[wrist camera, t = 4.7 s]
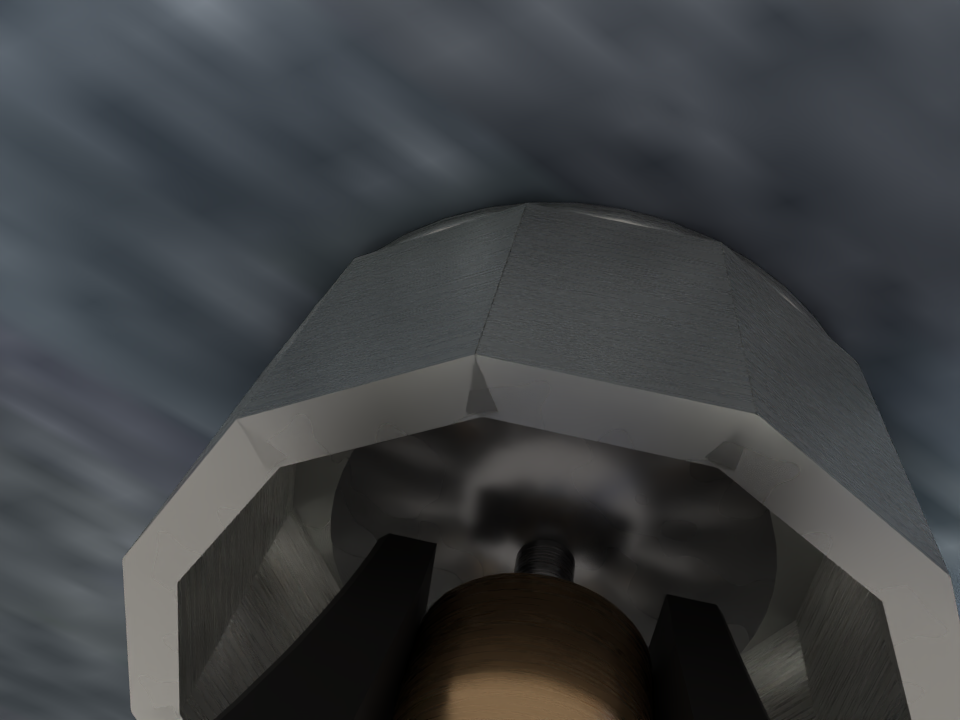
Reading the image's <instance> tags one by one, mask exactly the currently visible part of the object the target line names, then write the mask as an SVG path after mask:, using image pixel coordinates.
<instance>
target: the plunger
mask: <svg viewBox="0 0 960 720" xmlns="http://www.w3.org/2000/svg"><path fill="white" fill-rule="evenodd" d="M388 533H391V534H396V535H400V536H405V537H409V538H414V539H418V540H423V541H428V542H432V543H437V546H436V553H435V559H434V566H433V572H432V578H431V585H430V591H429V598H428V604H427V610H426V614H425V615H424V617H423V619H422V621H421V623H420V626H419V629H418V632H417V635H416V639H415V642H414V646H413V649H412V652H411V655H410V659H409V662H408V665H407V669H406V672H405V676H404V679H403V682H402V686H401V689H400V693H399V696H398V699H397V703H396V706H395V710H394V713H393V716H392V720H653V706H652V665H651V657H650V654H649V651H648V648H649V645H650V642H651V639H652V636H653V633H654V630H655V627H656V624H657V620H658V617H659V614H660V611H661V608H662V605H663V602H664V599H665V596H666V594H670V595H674V596H679V597H684V598H688V599H693V600H697V601H702V602H706V603H711V604H716V605H717V606H718V607H719V609H720V610H721V612H722V613H723V615H724V618H725V620H726V623H727V625H728V627H729V630H730V632H731V634H732V637H733V639H734V641H735V644H736V646H737V648H738V651H739V653H741V652H742V651H743V650H744V649H745V647H746V646H747V645H748V643H749V642H750V641H751V639H752V638H753V637H754V635H755V634H756V632H757V630H758V628H759V627H760V625H761V623H762V621H763V619H764V617H765V615H766V613H767V610H768V607H769V604H770V601H771V598H772V595H773V592H774V586H775V579H776V572H777V548H776V540H775V534H774V529H773V524H772V519H771V514H770V510H769V509H768V508H767V507H766V506H764V505H763V504H762V503H761V502H759V501H758V500H757V499H756V498H754V497H753V496H752V495H751V494H750V493H748V492H747V491H746V490H745V489H743V488H742V487H741V486H740V485H738V484H737V483H736V482H735V481H734V480H732V479H731V478H730V477H729V476H727V475H726V474H725V473H724V472H723V471H721V470H720V469H719V468H717V467H713V466H708V465H704V464H699V463H694V462H690V461H685V460H681V459H676V458H671V457H667V456H662V455H657V454H653V453H648V452H644V451H639V450H634V449H630V448H625V447H620V446H616V445H611V444H607V443H602V442H597V441H593V440H588V439H584V438H579V437H574V436H570V435H565V434H560V433H556V432H551V431H547V430H542V429H537V428H533V427H528V426H523V425H519V424H514V423H510V422H505V421H500V420H496V419H491V418H487V417H479V418H475V419H471V420H467V421H463V422H459V423H455V424H451V425H447V426H443V427H439V428H435V429H431V430H427V431H423V432H419V433H415V434H411V435H407V436H403V437H399V438H395V439H391V440H387V441H383V442H379V443H375V444H371V445H367V446H363V447H359V448H355V449H353V451H352V453H351V455H350V457H349V459H348V461H347V463H346V465H345V467H344V469H343V471H342V474H341V477H340V480H339V482H338V485H337V488H336V491H335V495H334V500H333V506H332V512H331V542H332V548H333V555H334V560H335V563H336V567H337V570H338V573H339V576H340V579H341V582H342V584H343V586H344V585H345V584H346V583H347V582H348V580H349V579H350V578H351V577H352V575H353V574H354V573H355V571H356V570H357V569H358V568H359V566H360V565H361V564H362V562H363V561H364V560H365V558H366V557H367V555H368V554H369V553H370V551H371V550H372V548H373V547H374V545H375V544H376V542H377V541H378V539H379V538H381V537H383V536H384V535H386V534H388Z"/></svg>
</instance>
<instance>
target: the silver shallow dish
mask: <svg viewBox="0 0 960 720" xmlns="http://www.w3.org/2000/svg"><path fill="white" fill-rule="evenodd" d="M479 417H487V418H491V419H496V420H500V421H505V422H510V423H514V424H519V425H523V426H528V427H533V428H537V429H542V430H547V431H551V432H556V433H560V434H565V435H570V436H574V437H579V438H584V439H588V440H593V441H597V442H602V443H607V444H611V445H616V446H620V447H625V448H630V449H634V450H639V451H644V452H648V453H653V454H657V455H662V456H667V457H671V458H676V459H681V460H685V461H690V462H694V463H699V464H704V465H708V466H713V467H717V468H719V469H720V470H721V471H723V472H724V473H725V474H726V475H727V476H729V477H730V478H731V479H732V480H734V481H735V482H736V483H737V484H738V485H740V486H741V487H742V488H743V489H745V490H746V491H747V492H748V493H750V494H751V495H752V496H753V497H754V498H756V499H757V500H758V501H759V502H761V503H762V504H763V505H764V506H766V507H767V508H768V509H769V510H770V514H771V519H772V524H773V529H774V534H775V540H776V548H777V572H776V579H775V586H774V592H773V595H772V598H771V601H770V604H769V607H768V610H767V613H766V615H765V617H764V619H763V621H762V623H761V625H760V627H759V628H758V630H757V632H756V634H755V635H754V637H753V638H752V639H751V641H750V642H749V643H748V645H747V646H746V647H745V649H744V650H743V651H742V652H741V653H740V655H741V658H742V660H743V662H744V664H745V667H746V669H747V671H748V673H749V675H750V678H751V680H752V682H753V684H754V686H755V688H756V690H757V693H758V695H759V697H760V699H761V701H762V703H763V705H764V707H765V709H766V712H767V714H768V716H769V718H770V720H960V621H959V616H958V611H957V606H956V601H955V596H954V591H953V586H952V581H951V577H950V575H949V572H948V570H947V568H946V565H945V563H944V561H943V558H942V556H941V554H940V551H939V549H938V547H937V545H936V542H935V540H934V538H933V535H932V533H931V531H930V528H929V526H928V524H927V521H926V519H925V517H924V514H923V512H922V510H921V507H920V505H919V503H918V500H917V498H916V496H915V494H914V491H913V489H912V487H911V484H910V482H909V480H908V477H907V475H906V473H905V470H904V468H903V466H902V463H901V461H900V459H899V456H898V454H897V452H896V450H895V447H894V445H893V443H892V440H891V438H890V436H889V433H888V431H887V429H886V426H885V424H884V422H883V419H882V417H881V415H880V412H879V410H878V408H877V406H876V403H875V401H874V399H873V396H872V394H871V392H870V389H869V387H868V385H867V382H866V380H865V378H864V375H863V373H862V371H861V368H860V366H859V364H858V362H857V361H856V360H855V359H853V358H852V357H851V356H850V355H849V354H848V353H847V352H846V351H844V350H843V349H842V348H841V347H840V346H839V345H838V344H836V343H835V342H834V341H833V340H832V339H831V338H830V337H829V336H828V335H827V333H826V332H825V330H824V329H823V328H822V326H821V325H820V324H819V322H818V321H817V319H816V318H815V317H814V316H813V315H812V314H811V313H810V312H809V311H808V310H807V309H806V308H805V307H804V306H803V305H802V304H801V303H800V302H799V300H798V299H797V298H796V297H795V296H794V295H793V294H792V293H791V292H790V291H789V290H788V289H787V288H786V287H785V286H783V285H782V284H781V283H779V282H778V281H777V280H775V279H774V278H773V277H771V276H770V275H769V274H768V273H766V272H765V271H764V270H762V269H761V268H760V267H758V266H757V265H756V264H755V263H753V262H752V261H751V260H749V259H747V258H745V257H744V256H742V255H740V254H738V253H737V252H735V251H733V250H731V249H730V248H728V247H726V246H725V245H724V244H723V243H722V242H719V241H716V240H714V239H712V238H710V237H707V236H705V235H702V234H700V233H697V232H695V231H693V230H690V229H688V228H685V227H683V226H680V225H678V224H675V223H673V222H671V221H668V220H664V219H660V218H656V217H653V216H649V215H645V214H641V213H638V212H634V211H630V210H626V209H621V208H614V207H607V206H599V205H592V204H584V203H565V202H530V203H521V204H513V205H504V206H496V207H487V208H483V209H479V210H476V211H472V212H468V213H464V214H460V215H456V216H452V217H448V218H444V219H442V220H439V221H437V222H434V223H432V224H429V225H427V226H424V227H422V228H419V229H417V230H414V231H412V232H409V233H407V234H405V235H403V236H402V237H400V238H398V239H396V240H395V241H393V242H391V243H389V244H388V245H386V246H384V247H382V248H381V249H379V250H377V251H375V252H372V253H369V254H366V255H363V256H360V257H357V258H355V259H353V261H352V262H351V263H350V264H349V266H348V267H347V268H346V269H345V271H344V272H343V273H342V274H341V276H340V277H339V278H338V279H337V280H336V282H335V283H334V284H333V285H332V287H331V288H330V289H329V290H328V292H327V293H326V294H325V295H324V297H323V298H322V299H321V300H320V301H319V302H318V303H317V304H316V305H315V307H314V308H313V310H312V311H311V312H310V314H309V315H308V316H307V318H306V319H305V320H304V321H303V323H302V324H301V325H300V326H299V328H298V329H297V330H296V331H295V333H294V334H293V335H292V336H291V338H290V339H289V340H288V341H287V342H286V344H285V345H284V346H283V347H282V349H281V350H280V351H279V352H278V354H277V355H276V356H275V357H274V359H273V360H272V361H271V362H270V364H269V365H268V366H267V367H266V369H265V370H264V371H263V372H262V374H261V375H260V376H259V377H258V379H257V380H256V381H255V383H254V384H253V385H252V387H251V388H250V389H249V391H248V392H247V393H246V395H245V396H244V397H243V399H242V400H241V401H240V403H239V404H238V405H237V407H236V408H235V409H234V411H233V412H232V413H231V415H230V416H229V417H228V419H227V420H226V421H225V423H224V424H223V425H222V427H221V428H220V429H219V431H218V432H217V433H216V435H215V436H214V437H213V439H212V440H211V441H210V443H209V444H208V445H207V447H206V448H205V449H204V451H203V452H202V453H201V455H200V456H199V457H198V459H197V460H196V461H195V463H194V464H193V465H192V467H191V468H190V469H189V471H188V472H187V474H186V475H185V476H184V478H183V479H182V480H181V482H180V483H179V484H178V486H177V487H176V488H175V490H174V491H173V492H172V494H171V495H170V496H169V498H168V499H167V500H166V502H165V503H164V504H163V506H162V507H161V508H160V510H159V511H158V512H157V514H156V515H155V516H154V518H153V519H152V520H151V522H150V523H149V524H148V526H147V527H146V528H145V530H144V531H143V532H142V534H141V535H140V536H139V538H138V539H137V540H136V542H135V543H134V544H133V546H132V547H131V548H130V550H129V551H128V552H127V554H126V555H125V556H124V558H123V577H124V595H125V612H126V630H127V648H128V666H129V683H130V701H131V712H132V714H133V715H134V716H135V718H136V719H137V720H214V719H215V718H216V717H217V716H218V715H219V714H220V713H221V712H223V711H224V710H225V709H226V708H227V707H228V706H229V705H230V704H231V703H232V702H234V701H235V700H236V699H237V698H238V697H239V696H240V695H241V694H242V693H243V692H244V691H245V690H246V689H247V688H248V687H249V686H250V685H251V684H252V683H253V682H254V681H255V680H256V679H257V678H258V677H260V676H261V675H262V674H263V673H264V672H265V671H266V670H267V669H268V668H269V667H270V666H271V665H272V664H273V663H274V662H275V661H276V660H277V659H278V658H279V657H280V656H281V655H282V654H283V653H284V652H285V651H286V650H287V649H288V648H289V647H290V646H291V645H292V644H293V643H294V641H295V640H296V639H297V638H298V637H299V636H300V635H301V634H302V633H303V632H304V631H305V629H306V628H307V627H308V626H309V625H310V624H311V623H312V622H313V621H314V620H315V619H316V617H317V616H318V615H319V614H320V613H321V612H322V611H323V610H324V609H325V608H326V607H327V605H328V604H329V603H330V602H331V601H332V599H333V598H334V597H335V596H336V595H337V594H338V592H339V591H340V590H341V589H342V588H343V584H342V582H341V579H340V576H339V573H338V570H337V567H336V563H335V560H334V555H333V548H332V542H331V512H332V506H333V500H334V495H335V491H336V488H337V485H338V482H339V480H340V477H341V474H342V471H343V469H344V467H345V465H346V463H347V461H348V459H349V457H350V455H351V453H352V451H353V449H355V448H359V447H363V446H367V445H371V444H375V443H379V442H383V441H387V440H391V439H395V438H399V437H403V436H407V435H411V434H415V433H419V432H423V431H427V430H431V429H435V428H439V427H443V426H447V425H451V424H455V423H459V422H463V421H467V420H471V419H475V418H479Z"/></svg>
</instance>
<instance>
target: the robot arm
mask: <svg viewBox="0 0 960 720" xmlns="http://www.w3.org/2000/svg"><path fill="white" fill-rule="evenodd" d="M436 546H437V543H432V542H428V541H423V540H418V539H414V538H409V537H405V536H400V535H396V534H391V533H388V534H386V535H384V536H383V537H381V538H379V539H378V541H377V542H376V544H375V545H374V547H373V548H372V550H371V551H370V553H369V554H368V555H367V557H366V558H365V560H364V561H363V562H362V564H361V565H360V566H359V568H358V569H357V570H356V571H355V573H354V574H353V575H352V577H351V578H350V579H349V580H348V582H347V583H346V584H345V585H344V586H343V588H342V589H341V590H340V591H339V592H338V594H337V595H336V596H335V597H334V598H333V599H332V601H331V602H330V603H329V604H328V605H327V607H326V608H325V609H324V610H323V611H322V612H321V613H320V614H319V615H318V616H317V617H316V619H315V620H314V621H313V622H312V623H311V624H310V625H309V626H308V627H307V628H306V629H305V631H304V632H303V633H302V634H301V635H300V636H299V637H298V638H297V639H296V640H295V641H294V643H293V644H292V645H291V646H290V647H289V648H288V649H287V650H286V651H285V652H284V653H283V654H282V655H281V656H280V657H279V658H278V659H277V660H276V661H275V662H274V663H273V664H272V665H271V666H270V667H269V668H268V669H267V670H266V671H265V672H264V673H263V674H262V675H261V676H260V677H258V678H257V679H256V680H255V681H254V682H253V683H252V684H251V685H250V686H249V687H248V688H247V689H246V690H245V691H244V692H243V693H242V694H241V695H240V696H239V697H238V698H237V699H236V700H235V701H234V702H232V703H231V704H230V705H229V706H228V707H227V708H226V709H225V710H224V711H223V712H221V713H220V714H219V715H218V716H217V717H216V718H215V719H214V720H392V716H393V713H394V710H395V706H396V703H397V699H398V696H399V693H400V689H401V686H402V682H403V679H404V676H405V672H406V669H407V665H408V662H409V659H410V655H411V652H412V649H413V646H414V642H415V639H416V635H417V632H418V629H419V626H420V623H421V621H422V619H423V617H424V615H425V614H426V610H427V604H428V598H429V591H430V585H431V578H432V572H433V566H434V559H435V553H436ZM648 651H649V654H650V657H651V665H652V706H653V720H770V718H769V716H768V714H767V712H766V709H765V707H764V705H763V703H762V701H761V699H760V697H759V695H758V693H757V690H756V688H755V686H754V684H753V682H752V680H751V678H750V675H749V673H748V671H747V669H746V667H745V664H744V662H743V660H742V658H741V655H740V653H739V651H738V648H737V646H736V644H735V641H734V639H733V637H732V634H731V632H730V630H729V627H728V625H727V623H726V620H725V618H724V615H723V613H722V612H721V610H720V609H719V607H718V606H717V605H716V604H711V603H706V602H702V601H697V600H693V599H688V598H684V597H679V596H674V595H670V594H666V596H665V599H664V602H663V605H662V608H661V611H660V614H659V617H658V620H657V624H656V627H655V630H654V633H653V636H652V639H651V642H650V645H649V648H648Z"/></svg>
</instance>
